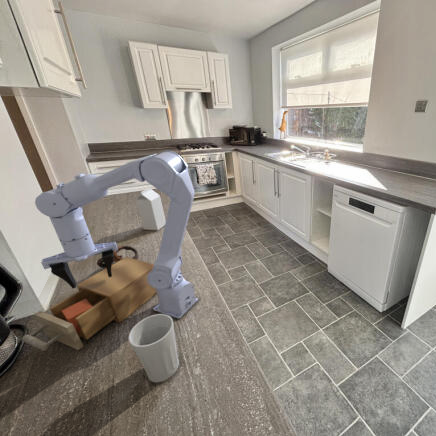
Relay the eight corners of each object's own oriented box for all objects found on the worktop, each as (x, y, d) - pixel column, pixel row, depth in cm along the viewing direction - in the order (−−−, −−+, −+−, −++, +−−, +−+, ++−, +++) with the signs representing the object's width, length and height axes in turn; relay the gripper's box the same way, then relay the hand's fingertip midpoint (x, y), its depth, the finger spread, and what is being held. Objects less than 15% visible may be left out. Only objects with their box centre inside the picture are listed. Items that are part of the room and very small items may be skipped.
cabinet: (119, 322, 64) (110, 296, 61) (87, 310, 68) (76, 285, 64) (162, 288, 77) (156, 264, 73) (133, 279, 81) (126, 256, 77)
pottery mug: (127, 256, 94) (133, 241, 91) (139, 273, 91) (145, 258, 87) (90, 264, 84) (95, 247, 80) (101, 284, 80) (107, 267, 77)
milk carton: (166, 224, 119) (158, 187, 111) (157, 230, 113) (148, 192, 105) (153, 223, 120) (144, 186, 112) (143, 229, 113) (133, 191, 105)
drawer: (56, 367, 52) (42, 344, 49) (24, 351, 55) (9, 328, 52) (130, 309, 68) (123, 289, 64) (101, 299, 71) (93, 279, 68)
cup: (188, 351, 57) (179, 313, 52) (174, 386, 50) (162, 346, 45) (154, 351, 57) (142, 314, 52) (135, 386, 50) (119, 347, 45)
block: (99, 321, 62) (93, 306, 60) (75, 334, 58) (67, 319, 56) (91, 312, 65) (85, 298, 63) (68, 324, 61) (61, 310, 59)
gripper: (30, 252, 52) (54, 300, 57) (111, 234, 60) (126, 278, 65) (36, 239, 57) (58, 284, 62) (110, 224, 65) (123, 265, 70)
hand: (93, 280), depth 64 cm, fingers open, 7 cm apart
